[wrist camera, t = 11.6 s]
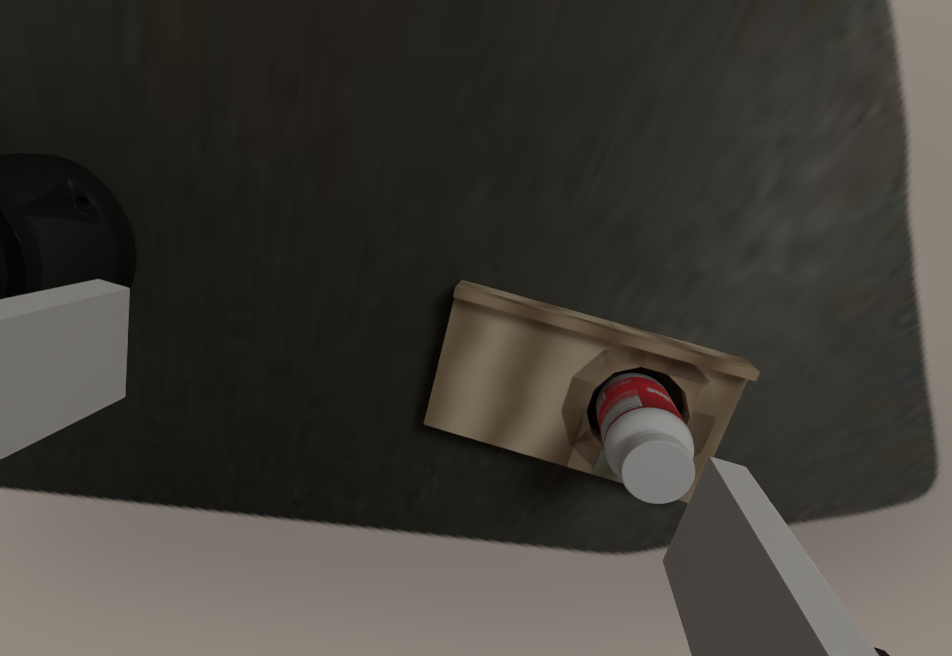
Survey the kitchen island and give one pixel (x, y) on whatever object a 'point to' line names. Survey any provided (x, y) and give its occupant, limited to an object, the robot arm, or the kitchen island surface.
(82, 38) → the kitchen island surface
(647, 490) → the pill bottle
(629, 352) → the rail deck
